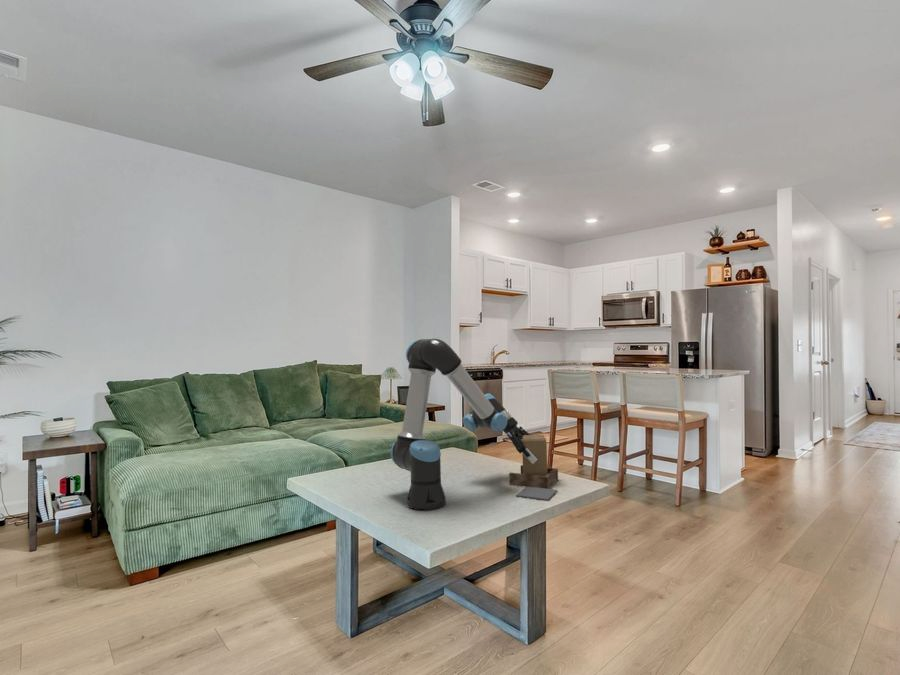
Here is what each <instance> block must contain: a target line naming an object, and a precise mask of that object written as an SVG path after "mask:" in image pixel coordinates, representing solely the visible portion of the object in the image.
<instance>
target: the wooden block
mask: <svg viewBox="0 0 900 675" xmlns="http://www.w3.org/2000/svg"><path fill="white" fill-rule="evenodd" d="M521 440H522V442H523V445H524V446H525V448H527V449H528V450H529V451H530V452H531V453H532V454H533V455H534V456H535V457H536V459H537V461H536V462H535V463H534V464H532V463H531V462H530V461H529V459H528V458H527V457H526V456H525V455H524V454H523V453H521V455H522V456H521V457H522V465H523V474H529V475H538V476H546V475H547V468H548V450H547V449H548V448H547V447H548V445H547V438H546V437H545V435H543V434H530V435H523V436H522V439H521Z"/></svg>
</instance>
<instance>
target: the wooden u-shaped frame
mask: <svg viewBox="0 0 900 675" xmlns="http://www.w3.org/2000/svg"><path fill="white" fill-rule="evenodd" d="M508 476H509V479H508V480H509V481H508V482H509V485H510V486H515V485H517V486H518V487H523V486H525V487H527V486H528V487H537V488H546V489H548V488H549V489H550V488H551V487H552V486H553V485H554V484H553V483H554V482H555V481H556V480H558V481H559V468H555V467H554V468H553V467H547V475H546V476H538V475H529V474H523V464H521V465H520V473H519V472H509V474H508ZM556 482H557V481H556ZM556 482H555V483H556ZM525 487H524V488H525Z"/></svg>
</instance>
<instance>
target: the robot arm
mask: <svg viewBox="0 0 900 675" xmlns="http://www.w3.org/2000/svg"><path fill="white" fill-rule="evenodd" d="M405 359H406V361H407V362H408V368H407V369H408V372H410V378H409V385H408V390H407V397H406V404H405V411H404V417H403V424H402V430H401V431H400V432H398V433H397V439H396V440H395V442H393V443H392V446H391V448H390V458H391V461H392V463H394V465H396V466H397V467H398V468H400V469H403V470H405V471H408V472H409V473H410V487H409V489H408V493H407V497H406V506H407V505H408V506H409V507H412V508H415V509H414V510H416V509H426V510H425V511H428V510H427V509H432V510H436V509H437V510H438V509H440V507H441V508H443V507H444V506H445V505H447V496H446V494H445V490H444V487H443V484H442V477H441V476H442V474H441V473H442V472H441V471H442V470H441V468H442V467H441V455H442V454H441V447H440V446H439V445H440V444H438V443H437V442H435V441H433V440H426V437H425V435H424V428H425V427H424V426H425V420H426V415H427V414H426V413H427V407H428V401H429V394H430V387H431V381H432V377H433V375H435V374H436V371H439V372H440V373H441V375H442V376H446V377H447V378H448V380H449V381H450V382H451V383H452V384H453V385H454V387H455V389H456V390H457V391H458V393H459V394H460V395H461V396H462V397H463V398H464V400H465V401H466V402H467V403H468V404H469V406H470V407H471V409H472V410H471V411H470V412H468V413H467V414H466V415H465V416H463V418H462V422H463V423H462V424H464V427H465V428H466V429H467V430H468V431H470V432H473V431H476V430H477V429H478V428H481V429H486V430H491V431H493V432H503V433H505V434H506V435H507V437H508V438H509V439H510V441H511V443H512V444H513V446H514V447H515V449H516V451H517V452H518V453H519V454H521V455H522V453H523V454H524V455H525V456H526V457H527V458H528V459H529V461H530V462H531V463H532V464H534V463H535V462H536V461H537V459H536V457H535V456H534V455H533V454H532V453H531V452H530V451H529V450H528V449H527V448H525V446H524V445H523V442H522V436H523V435H531V434H530V433H529V432H528V431H527V430H526V429H524V428H523V427H522V426H519V427H518V424H519V423H518V421H517V420H516V419H515V418H514V417H513V416H512V415H511V413H510V412H509V410H507V409H506V408H505V407H504V406H503V405H502V404H501V402H499V401H498V399H497V398H496V397H495V395H492V394H491V393H486V394H484V392H483V391H482V389H481V388H480V387H479V385H477V383H476V382H475V380H474V379H473V378H472V376H471V375H470V374H469V372H468V371H467V370H466V369H465V367H464V366H463V365H462V360H461V358H460V357H459V355H458V354H457V353H456V352H455V351H454V350H453V348H452V347H451V346H450V345H448V343H446V342H445V341H444V340H442V339H440V338H421V339H417V340H415V341H413V342H412V343H410V344H409V345H408V347H407V349H406V352H405ZM408 506H407V507H408ZM409 507H408V508H409ZM412 508H411V509H412Z"/></svg>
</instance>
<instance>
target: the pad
mask: <svg viewBox="0 0 900 675" xmlns="http://www.w3.org/2000/svg"><path fill="white" fill-rule="evenodd" d="M556 492H557V493H558V489H554V488H549V489H546V488H537V487H528V486H527V487H524V488H523V489H522V490H520V491H519V492H518V493H517V494H515V496H516V498H519V497H521V498H520V499H527V498H529V499H528V500H535V499H536V500H535V501H543V502H549V501H550V500H551V499H552V498H553V497H554V496H555V495H556V494H557V493H556ZM555 493H556V494H555Z"/></svg>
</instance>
